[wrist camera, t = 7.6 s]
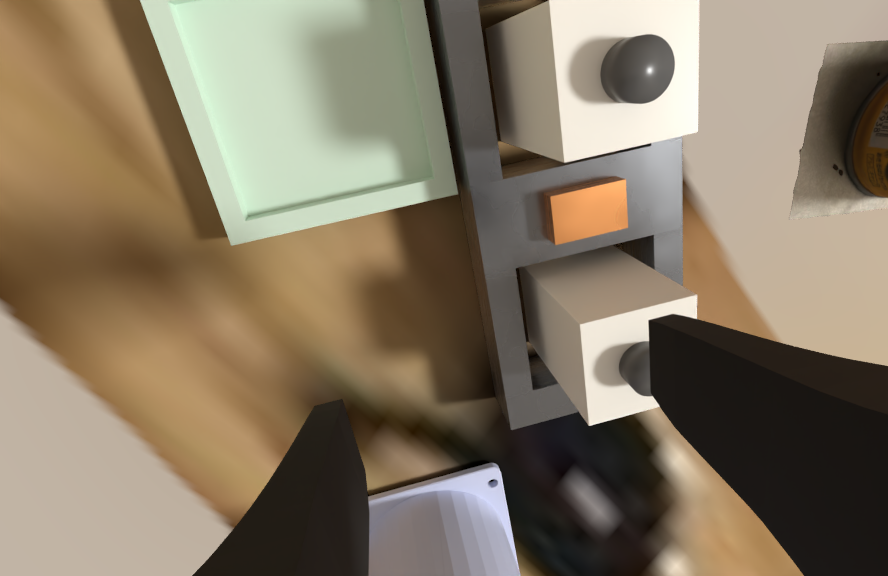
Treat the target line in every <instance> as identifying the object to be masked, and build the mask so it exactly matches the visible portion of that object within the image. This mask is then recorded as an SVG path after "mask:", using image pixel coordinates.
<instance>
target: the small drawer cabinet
mask: <svg viewBox="0 0 888 576" xmlns="http://www.w3.org/2000/svg"><path fill="white" fill-rule="evenodd" d="M516 1H521V0H425V2H426V8H427V13H428V19H429V25H430V30H431V36H432V42H433V47H434V53H435V58H436V64H437V70H438V75H439V81H440V87H441V92H442V98H443V103H444V109H445V115H446V120H447V126H448V132H449V137H450V143H451V148H452V154H453V160H454V165H455V171H456V177H457V182H458V188H459V193H460V199H461V205H462V210H463V216H464V221H465V227H466V233H467V238H468V244H469V250H470V255H471V261H472V266H473V272H474V278H475V283H476V289H477V295H478V300H479V306H480V311H481V317H482V323H483V328H484V334H485V340H486V345H487V351H488V356H489V362H490V368H491V373H492V379H493V385H494V390H495V396H496V399H497V401H498V403H499V406H500V408H501V410H502V412H503V414H504V416H505V418H506V420H507V422H508V425H509V427H510V429H511V430H513V429H517V428H521V427H524V426H528V425H532V424H535V423H539V422H543V421H547V420H550V419H554V418H558V417H561V416H565V415H569V414H572V413H576V412H579V411H578V410H577V408H576V407H575V405H574V404H573V403H572V401H571V400H570V398H569V397H568V396H567V394H566V393H565V391H564V390H563V389H562V387H561V386H560V384H559V383H558V382H557V380H556V379H555V377H554V376H553V375H552V373H551V372H550V370H549V369H548V368H547V366H546V365H545V363H544V362H543V361H542V359H541V358H540V356H539V355H538V356H534V357H530V358H528V352H527V345H526V338H525V331H524V324H523V317H522V310H521V303H520V296H519V289H518V282H517V275H516V268H519V267H523V266H527V265H531V264H535V263H540V262H544V261H548V260H552V259H556V258H560V257H564V256H568V255H572V254H577V253H581V252H585V251H589V250H593V249H597V248H601V247H605V246H609V245H614V244H618V243H622V242H623V248H624V252H625V253H627V254H628V255H630V256H632V257H634V258H635V259H637V260H639V261H640V262H642V263H644V264H646V265H647V266H649V267H651V268H652V269H654V270H656V271H657V272H659V273H661V274H663V275H664V276H666V277H668V278H669V279H671V280H673V281H675V282H676V283H678V284H680V285H681V286H683V217H682V136H680V137H676V138H671V139H667V140H662V141H658V142H654V143H649V144H645V145H640V146H636V147H632V148H627V149H623V150H619V151H614V152H610V153H605V154H601V155H597V156H592V157H588V158H583V159H579V160H575V161H570V162H566V163H564V162H561V161H558V160H555V159H552V158H549V157H546V156H543V157H538V158H534V159H530V160H525V161H521V162H516V163H512V164H507V165H503V166H501V162H500V155H499V148H498V141H497V134H496V127H495V120H494V113H493V106H492V99H491V92H490V85H489V78H488V71H487V64H486V57H485V50H484V43H483V36H482V29H481V22H480V15H479V9H480V8H485V7H491V6H496V5H501V4H506V3H511V2H516Z"/></svg>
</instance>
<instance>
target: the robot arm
mask: <svg viewBox="0 0 888 576" xmlns="http://www.w3.org/2000/svg"><path fill="white" fill-rule="evenodd" d="M648 325H649V358H650V391H651V394H652V396H653V397H654V399H655V400H656V402H657V403H658V405H659V406H660V407H661V409H662V410H663V412H664V413H665V415H666V416H667V417H668V419H669V420H670V421H671V423H672V424H673V425H674V427H675V428H676V429H677V430H678V431H679V432H680V434H681V435H682V436H683V437H684V438H685V439H686V440H687V441H688V442H689V443H690V444H691V445H692V447H693V448H694V449H695V450H696V451H697V452H698V453H699V454H700V455H701V456H702V457H703V458H704V459H705V460H706V461H707V462H708V464H709V465H710V466H711V467H712V468H713V469H714V470H715V471H716V472H717V473H718V474H719V475H720V476H721V477H722V478H723V479H724V480H725V481H726V482H727V484H728V485H729V486H730V487H731V488H732V489H733V490H734V491H735V492H736V493H737V494H738V495H739V496H740V497H741V498H742V499H743V500H744V501H745V503H746V504H747V505H748V506H749V507H750V508H751V509H752V510H753V512H754V513H755V514H756V515H757V516H758V517H759V518H760V520H761V521H762V522H763V523H764V524H765V526H766V527H767V528H768V529H769V531H770V532H771V533H772V535H773V536H774V537H775V538H776V540H777V541H778V542H779V544H780V545H781V546H782V547H783V549H784V550H785V551H786V552H787V554H788V555H789V556H790V558H791V559H792V560H793V561H794V563H795V564H796V565H797V567H798V568H799V569H800V571H801V572H802V573H803V575H804V576H888V366H884V365H879V364H873V363H868V362H862V361H856V360H851V359H846V358H841V357H836V356H832V355H827V354H823V353H819V352H815V351H811V350H807V349H802V348H799V347H794V346H790V345H786V344H783V343H779V342H775V341H772V340H768V339H765V338H761V337H757V336H754V335H750V334H747V333H744V332H740V331H737V330H733V329H730V328H726V327H723V326H719V325H716V324H713V323H709V322H706V321H702V320H698V319H694V318H691V317H686V316H682V315H677V314H670V315H666V316H662V317H658V318H655V319H651V320H648ZM492 479H495V480H494V481H493V482H489V481H490V480H492ZM192 576H521V575H520V572H519V567H518V562H517V557H516V551H515V546H514V541H513V535H512V530H511V524H510V519H509V514H508V508H507V503H506V498H505V492H504V487H503V481H502V476H501V472H500V469H499V467H498V465H496V464H494V463H488V464H484V465H480V466H477V467H473V468H470V469H466V470H462V471H459V472H455V473H451V474H448V475H444V476H441V477H437V478H433V479H430V480H426V481H423V482H419V483H415V484H412V485H408V486H404V487H401V488H397V489H394V490H390V491H386V492H383V493H379V494H376V495H372V496H368V492H367V483H366V473H365V468H364V465H363V462H362V459H361V456H360V453H359V450H358V447H357V444H356V440H355V437H354V434H353V431H352V428H351V425H350V422H349V419H348V416H347V413H346V409H345V406H344V403H343V400H342V399H340V400H337V401H333V402H329V403H325V404H321V405H317V406H315V407H314V408H313V410H312V411H311V413H310V414H309V416H308V418H307V419H306V421H305V423H304V425H303V426H302V428H301V430H300V432H299V433H298V435H297V437H296V438H295V440H294V442H293V443H292V445H291V447H290V449H289V450H288V452H287V453H286V455H285V457H284V458H283V460H282V461H281V463H280V465H279V466H278V468H277V469H276V471H275V473H274V474H273V476H272V477H271V479H270V480H269V482H268V483H267V485H266V486H265V487H264V489H263V490H262V492H261V493H260V495H259V496H258V497H257V499H256V500H255V502H254V503H253V505H252V506H251V507H250V509H249V510H248V511H247V513H246V514H245V515H244V517H243V518H242V519H241V521H240V522H239V523H238V524H237V526H236V527H235V528H234V529H233V531H232V532H231V533H230V534H229V535H228V536H227V538H226V539H225V540H224V541H223V542H222V544H221V545H220V546H219V547H218V549H217V550H216V551H215V552H214V553H213V554H212V555H211V556H210V557H209V559H208V560H207V561H206V562H205V563H204V564H203V565H202V566H201V567H200V568H199V569H198V570H197V571H196V572H195V574H193V575H192Z"/></svg>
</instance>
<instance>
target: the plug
mask: <svg viewBox="0 0 888 576" xmlns="http://www.w3.org/2000/svg"><path fill="white" fill-rule="evenodd" d="M485 31H486V38H487V45H488V52H489V59H490V67H491V74H492V81H493V88H494V95H495V102H496V109H497V116H498V123H499V131H500V138H501V141H502V142H505V143H507V144H510V145H513V146H516V147H519V148H522V149H525V150H528V151H531V152H534V153H537V154H540V155H543V156H546V157H549V158H552V159H555V160H558V161H561V162H564V163H566V162H570V161H575V160H579V159H583V158H588V157H592V156H597V155H601V154H605V153H610V152H614V151H619V150H623V149H627V148H632V147H636V146H640V145H645V144H649V143H654V142H658V141H662V140H667V139H671V138H676V137H680V136H684V135H689V134H693V133H698V94H699V92H698V91H699V83H698V82H699V0H548V1H546V2H544V3H542V4H539V5H537V6H535V7H533V8H531V9H528V10H526V11H524V12H522V13H520V14H517V15H515V16H513V17H511V18H509V19H506V20H504V21H502V22H500V23H497V24H495V25H493V26H491V27H489V28H486V29H485Z"/></svg>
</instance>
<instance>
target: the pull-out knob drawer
mask: <svg viewBox="0 0 888 576" xmlns="http://www.w3.org/2000/svg"><path fill="white" fill-rule="evenodd" d="M519 272H520V279H521V286H522V294H523V301H524V308H525V316H526V323H527V330H528V338H529V342H530V344H531V345H532V347H533V348H534V349H535V351H536V352H537V354H538V355H539V356H540V358H541V359H542V361H543V362H544V363H545V365H546V366H547V368H548V369H549V370H550V372H551V373H552V375H553V376H554V377H555V379H556V380H557V382H558V383H559V384H560V386H561V387H562V389H563V390H564V391H565V393H566V394H567V396H568V397H569V398H570V400H571V401H572V403H573V404H574V405H575V407H576V408H577V410H578V411H579V412H580V414H581V415H582V417H583V418H584V419H585V421H586V422H587V424H588V425H589V426H591V425H594V424H598V423H602V422H605V421H609V420H613V419H616V418H620V417H624V416H627V415H631V414H635V413H638V412H642V411H645V410H649V409H653V408H656V407H660V406H659V405H658V403H657V402H656V400H655V399H654V397H653V396H652V394H651V391H650V358H649V325H648V320H651V319H655V318H658V317H662V316H666V315H670V314H677V315H682V316H686V317H691V318H694V319H697V294H695V293H693V292H692V291H690V290H688V289H686V288H685V287H683V286H681V285H680V284H678V283H676V282H675V281H673V280H671V279H669V278H668V277H666V276H664V275H663V274H661V273H659V272H657V271H656V270H654V269H652V268H651V267H649V266H647V265H646V264H644V263H642V262H640V261H639V260H637V259H635V258H634V257H632V256H630V255H628V254H627V253H625V252H623V251H622V250H620V249H618V248H617V247H615V246H613V245H609V246H605V247H601V248H597V249H593V250H589V251H585V252H581V253H577V254H572V255H568V256H564V257H560V258H556V259H552V260H548V261H544V262H540V263H535V264H531V265H527V266H523V267H519Z"/></svg>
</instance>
